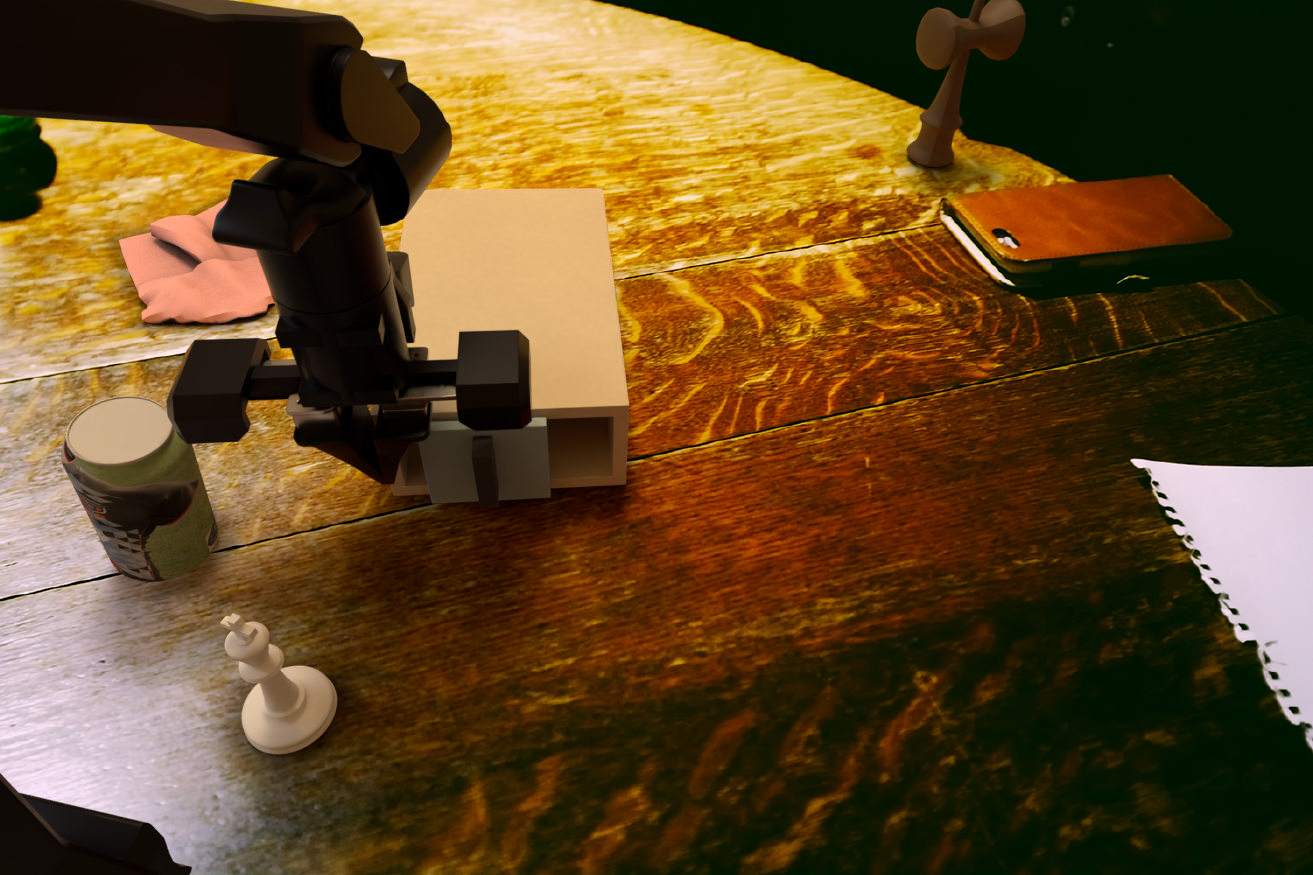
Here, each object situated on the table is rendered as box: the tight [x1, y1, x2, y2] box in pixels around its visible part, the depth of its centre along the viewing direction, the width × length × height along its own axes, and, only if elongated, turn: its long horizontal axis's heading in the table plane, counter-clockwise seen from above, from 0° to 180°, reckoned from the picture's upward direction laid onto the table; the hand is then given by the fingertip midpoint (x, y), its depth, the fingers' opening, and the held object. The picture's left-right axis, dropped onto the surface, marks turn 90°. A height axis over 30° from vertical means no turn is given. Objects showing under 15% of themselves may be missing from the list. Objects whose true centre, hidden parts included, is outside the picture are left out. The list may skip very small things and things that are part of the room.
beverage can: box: [60, 395, 219, 583], centre depth 48 cm, size 6×7×12 cm
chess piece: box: [219, 612, 338, 755], centre depth 42 cm, size 5×5×10 cm
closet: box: [370, 187, 630, 497], centre depth 63 cm, size 26×16×8 cm, turn 6°
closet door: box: [418, 417, 552, 508], centre depth 53 cm, size 3×8×7 cm, turn 96°
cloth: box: [118, 198, 274, 325], centre depth 74 cm, size 20×22×2 cm
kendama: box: [906, 0, 1026, 168], centre depth 85 cm, size 6×10×20 cm, turn 117°
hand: (389, 478), depth 52 cm, fingers closed
